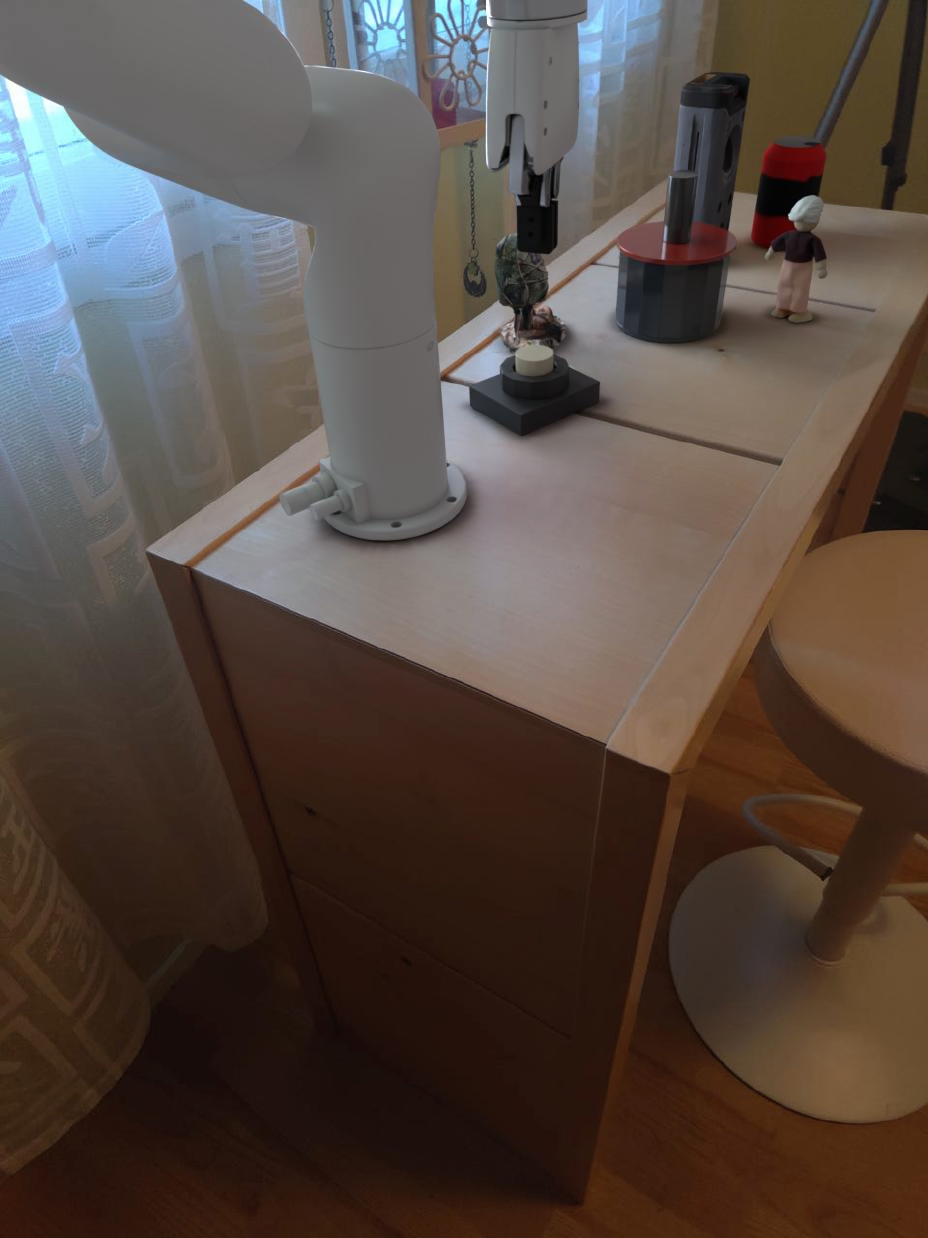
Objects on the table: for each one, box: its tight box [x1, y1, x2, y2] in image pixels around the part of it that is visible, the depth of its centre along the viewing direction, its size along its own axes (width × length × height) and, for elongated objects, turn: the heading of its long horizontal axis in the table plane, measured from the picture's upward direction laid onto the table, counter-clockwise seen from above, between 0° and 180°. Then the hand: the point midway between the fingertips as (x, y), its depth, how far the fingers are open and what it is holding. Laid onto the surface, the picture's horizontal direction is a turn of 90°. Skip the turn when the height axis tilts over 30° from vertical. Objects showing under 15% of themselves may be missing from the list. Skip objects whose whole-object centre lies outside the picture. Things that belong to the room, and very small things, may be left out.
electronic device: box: [672, 71, 751, 231], centre depth 109 cm, size 9×6×20 cm, turn 148°
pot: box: [614, 250, 731, 344], centre depth 98 cm, size 12×12×8 cm
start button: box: [515, 345, 555, 377], centre depth 85 cm, size 4×4×2 cm
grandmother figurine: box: [764, 195, 829, 324], centre depth 96 cm, size 8×4×13 cm, turn 50°
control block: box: [468, 353, 601, 437], centre depth 86 cm, size 10×8×4 cm
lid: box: [616, 170, 738, 265], centre depth 93 cm, size 13×13×8 cm
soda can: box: [750, 135, 828, 249], centre depth 115 cm, size 8×8×12 cm
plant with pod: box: [492, 164, 568, 351], centre depth 92 cm, size 8×11×20 cm
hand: (537, 249), depth 78 cm, fingers closed
